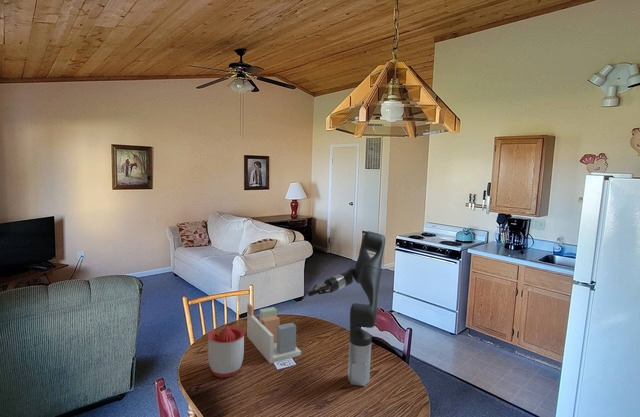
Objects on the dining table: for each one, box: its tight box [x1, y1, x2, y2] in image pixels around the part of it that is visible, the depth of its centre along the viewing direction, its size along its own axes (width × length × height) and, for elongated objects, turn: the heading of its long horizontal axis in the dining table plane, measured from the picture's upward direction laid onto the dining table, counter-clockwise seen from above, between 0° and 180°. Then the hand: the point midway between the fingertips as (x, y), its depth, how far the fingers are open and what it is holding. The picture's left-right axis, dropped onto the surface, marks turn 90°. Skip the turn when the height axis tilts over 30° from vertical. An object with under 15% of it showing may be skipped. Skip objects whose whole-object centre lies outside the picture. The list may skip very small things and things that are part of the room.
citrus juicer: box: [207, 325, 246, 379], centre depth 163 cm, size 16×17×20 cm
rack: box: [246, 302, 302, 364], centre depth 186 cm, size 16×30×18 cm, turn 31°
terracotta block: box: [261, 315, 281, 343], centre depth 185 cm, size 8×4×12 cm, turn 121°
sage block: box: [258, 306, 278, 322], centre depth 197 cm, size 8×4×12 cm, turn 121°
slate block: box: [277, 322, 297, 354], centre depth 178 cm, size 8×4×12 cm, turn 121°
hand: (308, 294), depth 191 cm, fingers closed
